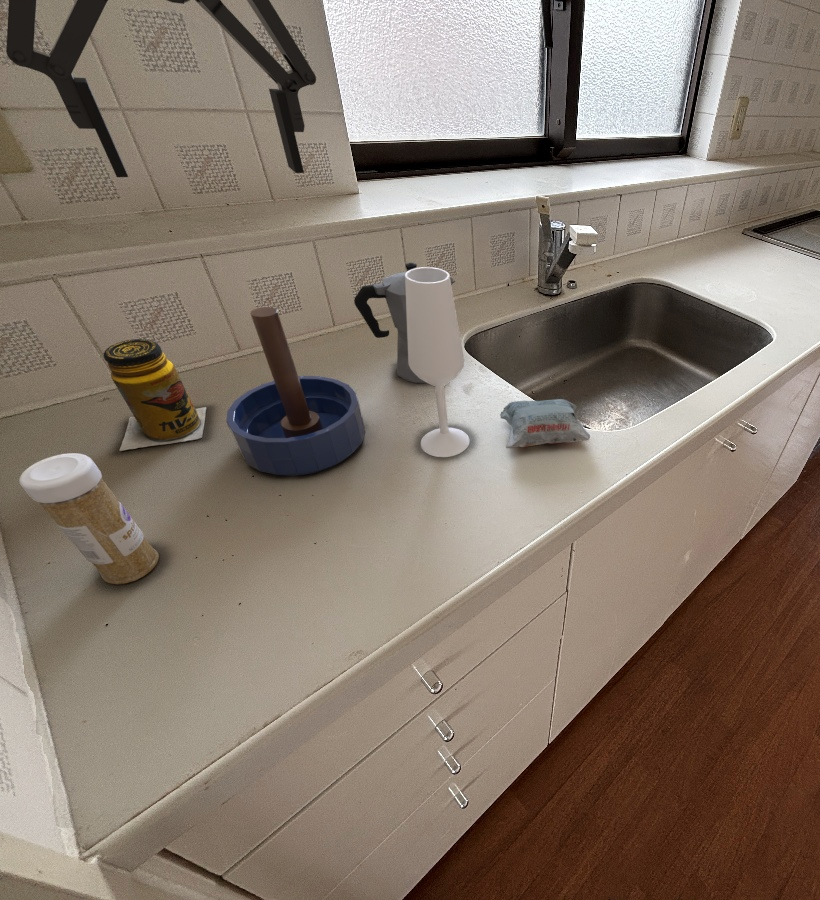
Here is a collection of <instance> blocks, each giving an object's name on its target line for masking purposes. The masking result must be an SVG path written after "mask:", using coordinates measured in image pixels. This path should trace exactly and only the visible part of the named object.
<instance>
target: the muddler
mask: <svg viewBox="0 0 820 900" xmlns="http://www.w3.org/2000/svg"><path fill="white" fill-rule="evenodd" d="M250 317H251V319H252V322H253V324H254V328H255V331H256V334H257V336H258V339H259V342H260V345H261V348H262V351H263V353H264V356H265V360H266V363H267V364H268V368H269V370H270V373H271V376H272V379H273V381H274V382H275V385H276V387H277V390H278V393H279V396H280V399H281V402H282V404H283V407H284V410H285V413H286V416H285V417H284V418H283V419H282V421H281V426H282V428H283V431H284V434H285V437H286V438H291V437H297V436H302V435H308V434H310V433H313V432H316V431H319V430H322V429H323V428H322V425H321V422H320V418H319V415H318V414H317V413H315V412H313V411H309V409H308V406H307V403H306V399H305V396H304V393H303V390H302V387H301V384H300V380H299V377H298V376H299V374H298V371H297V368H296V365H295V362H294V359H293V356H292V352H291V349H290V346H289V343H288V340H287V336H286V333H285V330H284V326H283V324H282V320H281V318H280V315H279V310H278V309H277V308H275V307H271V306H262V307H256V308H254V309H252V310H251V311H250Z"/></svg>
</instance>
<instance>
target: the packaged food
mask: <svg viewBox="0 0 820 900" xmlns="http://www.w3.org/2000/svg"><path fill="white" fill-rule="evenodd" d="M576 410H577V405H576V404H574V403H572V402H571V401H569V400H567V399H564V398H557V399H544V400H518V401H516V400H515V401H511V402H509V403H508V404H507V405H506V406H504V407H503V410H502V411H500V414H499V417H500V419H501V420H504V421H506V422H507V424H509V426H510V427H511V428H510V431H509V436H508V440H507V441H506V445H505V448H506V449H512V448H517V447H519V448H526V447H532V446H533V447H534V446H538V445H539V446H540V445H544V444H550V445H551V444H552V445H555V444H562V443H578V442H583V441H589V440H590V439H591V435H590V433H589V432H588V431H587V430H586V429H585V425H584V424H582V423H581V422H580V421H579V420H578V417H577V415H576V413H575V411H576Z"/></svg>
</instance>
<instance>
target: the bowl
mask: <svg viewBox="0 0 820 900" xmlns="http://www.w3.org/2000/svg"><path fill="white" fill-rule="evenodd" d="M298 377H299V380H300V384H301V387H302V390H303V393H304V396H305V399H306V403H307V406H308V409H309V411H313V412H315V413H317V414H318V415H319V418H320V422H321V425H322V428H323V429H322V430H319V431H316V432H313V433H310V434H308V435H302V436H297V437H291V438H286V437H285V434H284V431H283V428H282V426H281V421H282V419H283V418H284V417H285V416H286V413H285V410H284V407H283V404H282V402H281V399H280V396H279V393H278V390H277V387H276V385H275V382H274V380H273V381H268V382H265V383H263V384H260V385H258V386H256V387H254V388H251V389H249V390H248V391H246V392H244V393H243V394H242V395H240V396H239V397H238V398H236V399H235V400H234V401H233V402H232V404H231V405H230V406H229V408H228V409H227V411H226V421H225V422H226V425H227V427H228V429H229V432H230V433H231V435H232V438H233V440H234V443H235V445H236V447H237V449H238V451H239V453H240V456H241V457H242V458H243V460H244V461H245V463H246V464H247V465H249V466H250V467H252V468H253V469H255V470H257V471H259V472H262V473H267V474H272V475H277V476H286V477H287V476H289V477H290V476H291V477H293V476H303V475H309V474H315V473H318V472H323V471H325V470H327V469H331V468H332V467H335V466H337V465H338V464H340V463H342V462H343V461H345V460H346V459H348V458H349V457H350V456H351V455H352V454H353V453H355V451H356V450H357V449H358V448H359V447H360V446H361V444H362V443H363V441H364V437H365V435H366V429H365V424H364V420H363V416H362V411H361V406H360V403H359V398H358V394H357V392H356V391H355V390H354V389H353V388H352V387H351V385H349V384H348V383H345V382H344V381H341V380H340V379H338V378H337V379H336V378H331V377H326V376H320V375H298Z"/></svg>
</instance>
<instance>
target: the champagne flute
mask: <svg viewBox="0 0 820 900" xmlns="http://www.w3.org/2000/svg"><path fill="white" fill-rule="evenodd" d="M405 272H406V273H405V286H406V313H407V339H408V364H409V366H410V369H411V370H412V371H413V372H414V374H415V375H416V376H418V377H419V378H420V379H421V380H423V381H425V382H427V383H426V384H429V385H430V386H433V387H434V391H435V401H436V408H437V409H436V410H437V419H438V426H439V428H435V429H432V430H430V431H429V432H427V433H426V434H424V436H423V437H422V438H421V440H420V448H421V450H422V451H423V452H424V453H426V454H428V455H430V456H433V457H436V458H449V457H455V456H457V455H459V454H462V453H463V452H465V451H466V450H467V448H468V447H469V445H470V437H469V436H468V434H467V433H466V432H465V431H463V430H461V429H459V428H455V427H449V421H448V410H447V400H446V392H445V386H447V385H448V384H449V383H451V382H452V381H453V380H455V379H456V378H457V377H458V376H459V374H460V373H461V372H462V370H463V369H464V366H465V356H464V350H463V344H462V339H461V333H460V327H459V321H458V316H457V309H456V305H455V298H454V292H453V287H452V285H451V281H450V278H451V276H450V273H449V272H448V271H447V270H444V269H442V268H439V267H431V266H422V267H417V268H415V269H411V270H409V271H407V270H406V271H405Z"/></svg>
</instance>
